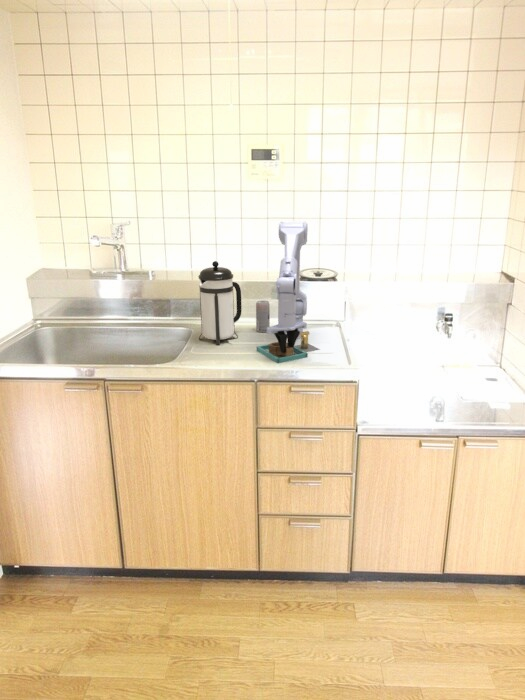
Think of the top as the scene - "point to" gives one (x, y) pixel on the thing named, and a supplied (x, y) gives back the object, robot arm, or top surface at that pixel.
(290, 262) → the robot arm
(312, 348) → the base
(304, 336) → the gold t-shaped peg
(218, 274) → the coffee press
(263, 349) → the tray
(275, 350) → the ring
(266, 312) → the energy drink
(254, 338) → the top surface
